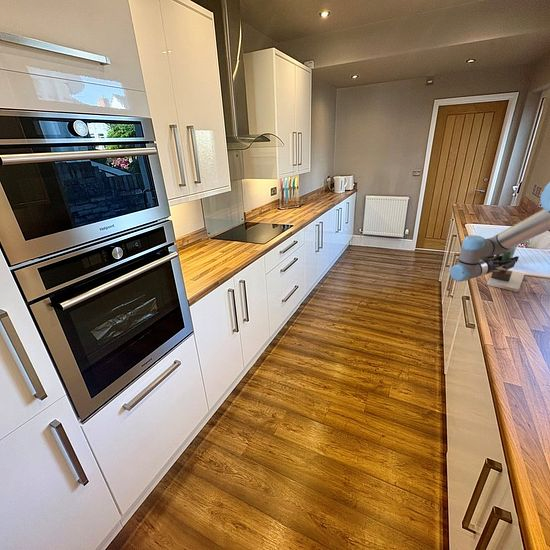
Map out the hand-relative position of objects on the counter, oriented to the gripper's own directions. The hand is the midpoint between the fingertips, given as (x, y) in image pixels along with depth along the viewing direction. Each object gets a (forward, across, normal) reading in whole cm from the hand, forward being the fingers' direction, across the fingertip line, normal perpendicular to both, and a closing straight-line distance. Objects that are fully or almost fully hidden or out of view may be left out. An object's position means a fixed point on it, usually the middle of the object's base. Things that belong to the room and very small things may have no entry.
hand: (512, 257), depth 138 cm
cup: (+18, -13, -11) cm, 25 cm away
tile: (-2, +1, -11) cm, 11 cm away
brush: (-5, 0, -9) cm, 11 cm away
